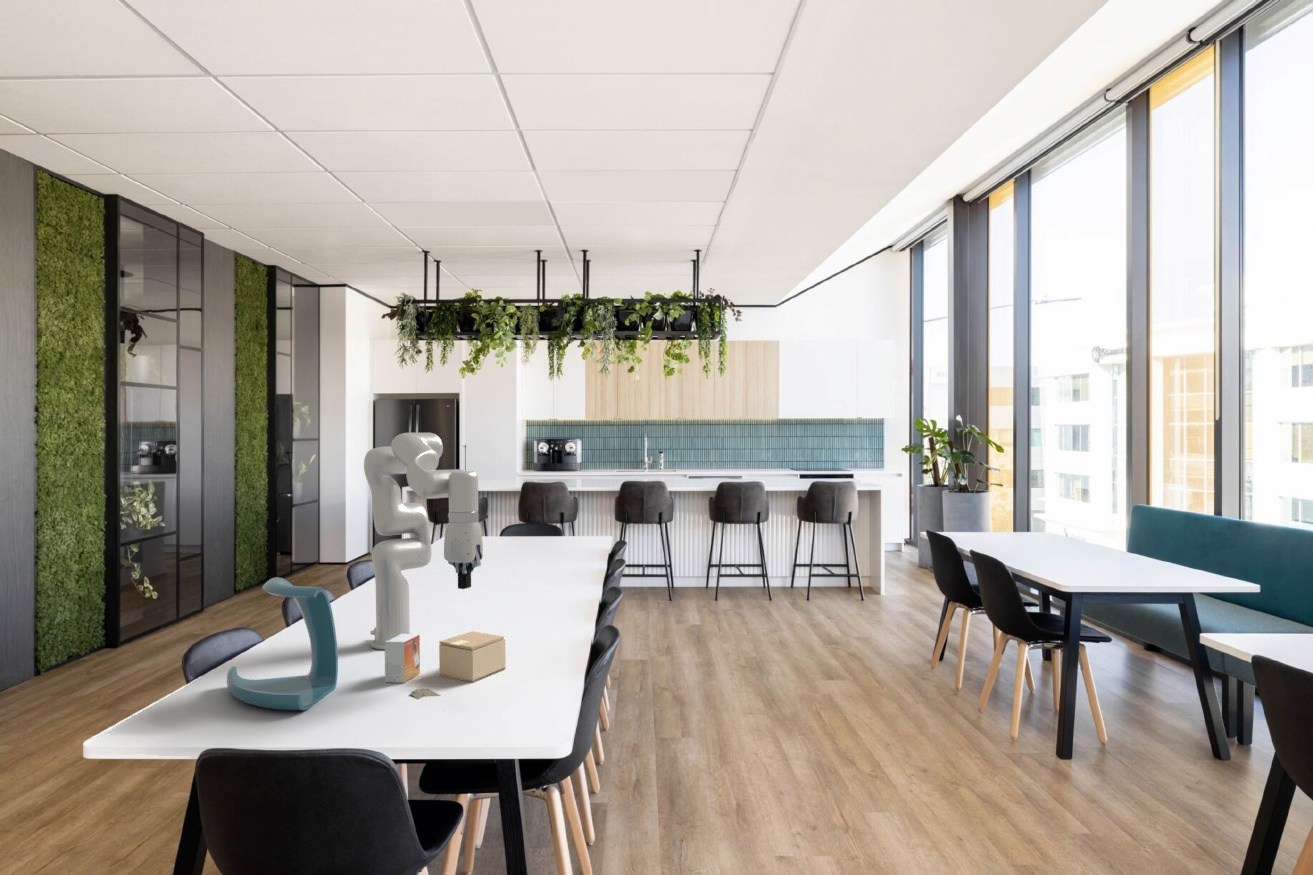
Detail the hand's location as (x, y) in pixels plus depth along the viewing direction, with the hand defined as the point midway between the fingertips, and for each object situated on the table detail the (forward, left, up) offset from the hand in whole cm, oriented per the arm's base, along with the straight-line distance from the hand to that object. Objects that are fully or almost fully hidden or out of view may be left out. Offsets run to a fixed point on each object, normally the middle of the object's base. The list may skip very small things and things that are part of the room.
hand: (464, 587), depth 189 cm
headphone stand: (-31, -34, -23) cm, 52 cm away
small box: (-13, -10, -23) cm, 28 cm away
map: (+9, -17, -24) cm, 30 cm away
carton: (0, +2, -23) cm, 23 cm away
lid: (0, +2, -15) cm, 15 cm away
